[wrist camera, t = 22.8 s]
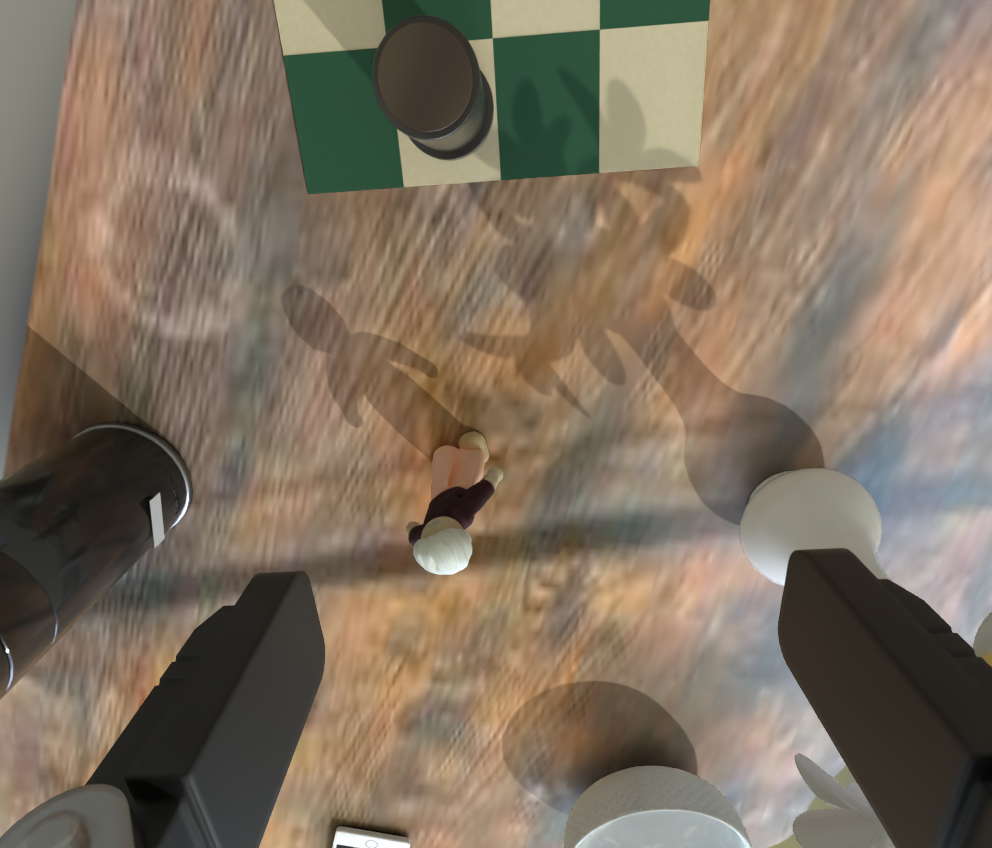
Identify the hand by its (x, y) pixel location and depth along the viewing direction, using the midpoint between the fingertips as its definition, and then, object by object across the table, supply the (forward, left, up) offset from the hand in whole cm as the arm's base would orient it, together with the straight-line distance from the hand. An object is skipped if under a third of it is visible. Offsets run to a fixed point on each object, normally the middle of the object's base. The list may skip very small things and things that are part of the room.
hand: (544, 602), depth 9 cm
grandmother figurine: (-5, -12, -30) cm, 33 cm away
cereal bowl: (+10, -50, -30) cm, 59 cm away
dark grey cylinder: (-3, +11, -30) cm, 32 cm away
